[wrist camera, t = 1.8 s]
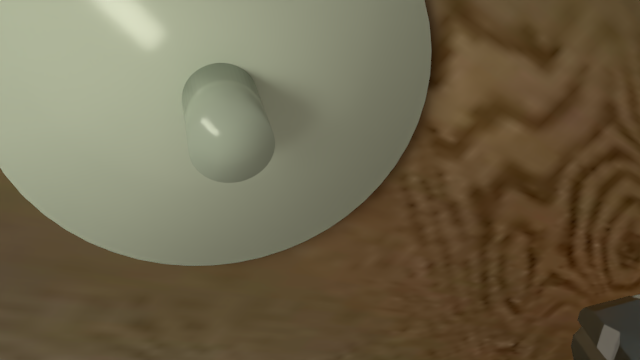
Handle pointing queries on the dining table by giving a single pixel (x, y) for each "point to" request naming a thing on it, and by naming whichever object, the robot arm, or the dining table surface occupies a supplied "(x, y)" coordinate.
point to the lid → (207, 117)
